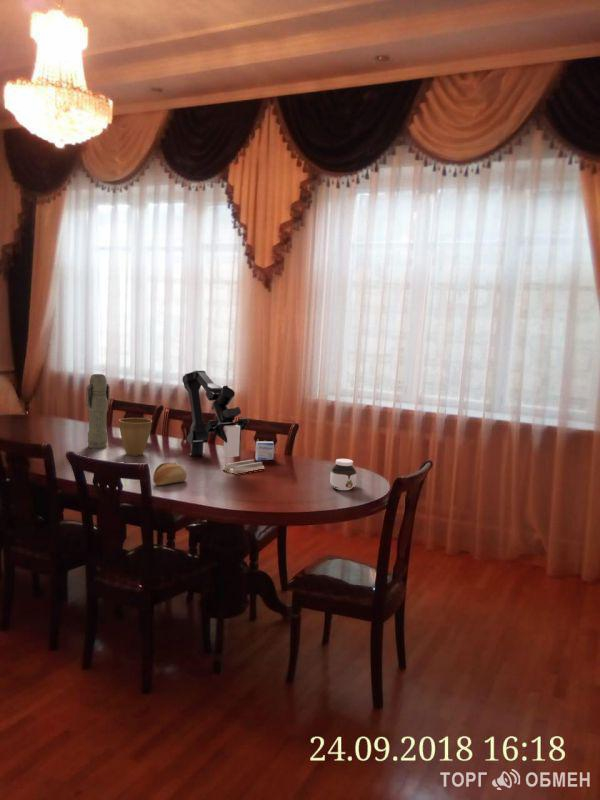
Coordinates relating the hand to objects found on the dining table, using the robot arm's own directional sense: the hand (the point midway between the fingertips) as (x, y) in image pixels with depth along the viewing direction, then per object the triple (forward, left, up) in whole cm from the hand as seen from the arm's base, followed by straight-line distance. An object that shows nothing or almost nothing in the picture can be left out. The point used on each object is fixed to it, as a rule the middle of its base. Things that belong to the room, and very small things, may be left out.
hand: (233, 441), depth 266 cm
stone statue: (-33, -69, -14) cm, 78 cm away
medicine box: (-26, +12, -14) cm, 32 cm away
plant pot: (-23, -48, -14) cm, 55 cm away
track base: (-5, +4, -13) cm, 15 cm away
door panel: (-1, -1, -7) cm, 7 cm away
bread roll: (+22, -22, -14) cm, 34 cm away
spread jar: (+14, +47, -14) cm, 51 cm away
